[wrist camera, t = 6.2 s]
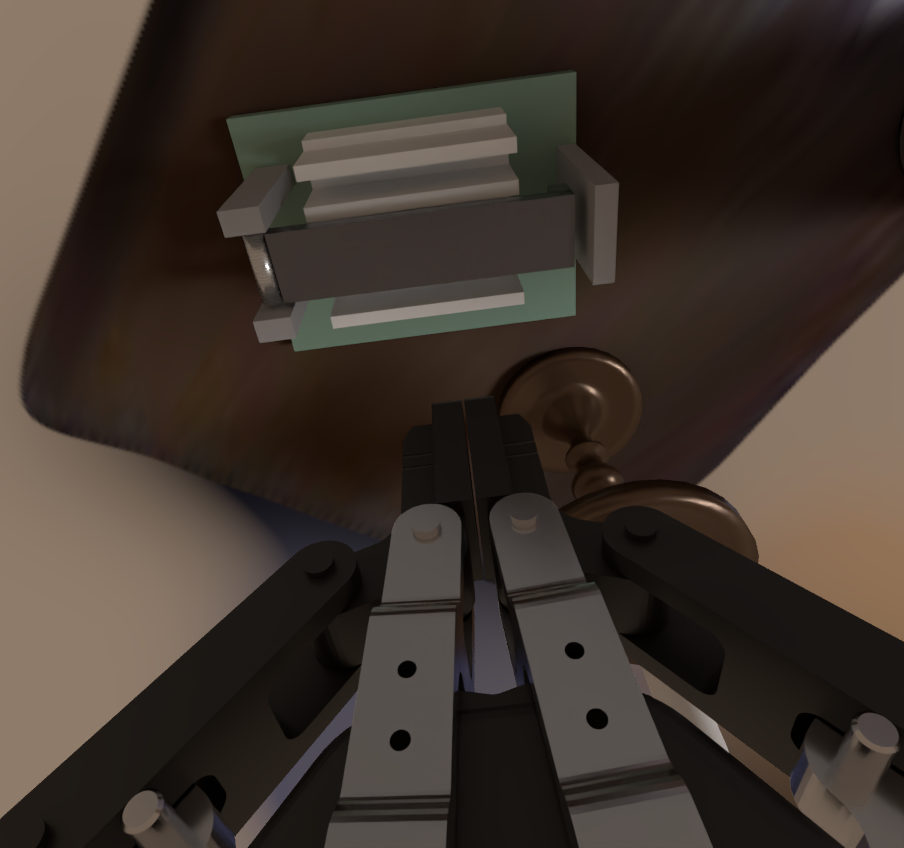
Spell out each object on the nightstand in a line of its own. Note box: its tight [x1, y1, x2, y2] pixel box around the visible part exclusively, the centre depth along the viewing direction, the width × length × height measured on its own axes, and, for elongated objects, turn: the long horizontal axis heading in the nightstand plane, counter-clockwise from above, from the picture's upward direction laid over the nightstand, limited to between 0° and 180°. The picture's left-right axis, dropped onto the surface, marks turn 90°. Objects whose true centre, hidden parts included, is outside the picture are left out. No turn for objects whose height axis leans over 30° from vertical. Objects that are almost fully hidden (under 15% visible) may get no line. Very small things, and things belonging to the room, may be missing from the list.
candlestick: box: [498, 347, 759, 752], centre depth 25 cm, size 11×11×35 cm
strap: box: [242, 183, 575, 306], centre depth 26 cm, size 14×3×2 cm, turn 97°
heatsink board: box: [217, 70, 619, 351], centre depth 28 cm, size 16×12×8 cm
